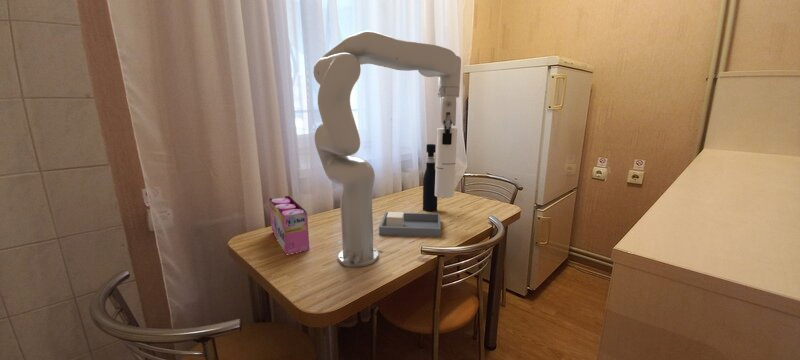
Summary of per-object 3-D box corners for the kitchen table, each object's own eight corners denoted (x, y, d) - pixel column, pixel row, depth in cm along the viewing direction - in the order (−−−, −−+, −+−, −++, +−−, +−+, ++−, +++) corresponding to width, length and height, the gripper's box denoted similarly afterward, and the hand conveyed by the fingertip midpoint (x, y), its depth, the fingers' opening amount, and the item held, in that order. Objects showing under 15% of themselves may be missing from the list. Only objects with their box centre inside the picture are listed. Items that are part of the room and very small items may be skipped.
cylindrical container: (453, 198, 117) (456, 129, 111) (433, 197, 118) (436, 128, 113) (454, 193, 124) (457, 128, 118) (435, 192, 125) (438, 127, 120)
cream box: (402, 230, 119) (402, 217, 118) (386, 229, 120) (386, 217, 119) (403, 224, 125) (403, 212, 124) (388, 223, 126) (388, 211, 125)
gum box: (270, 231, 121) (266, 197, 118) (291, 227, 125) (288, 194, 122) (286, 256, 102) (282, 216, 99) (310, 250, 106) (307, 211, 103)
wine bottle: (421, 213, 141) (422, 145, 134) (423, 208, 147) (424, 143, 140) (436, 214, 139) (437, 145, 132) (437, 209, 145) (439, 143, 138)
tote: (440, 239, 113) (440, 229, 112) (379, 237, 116) (379, 227, 115) (439, 223, 129) (439, 213, 128) (385, 221, 131) (385, 212, 130)
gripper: (461, 91, 104) (458, 146, 108) (457, 94, 121) (455, 141, 125) (438, 91, 105) (436, 145, 109) (437, 94, 122) (436, 140, 125)
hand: (446, 143), depth 117 cm, fingers closed on cylindrical container, 7 cm apart
